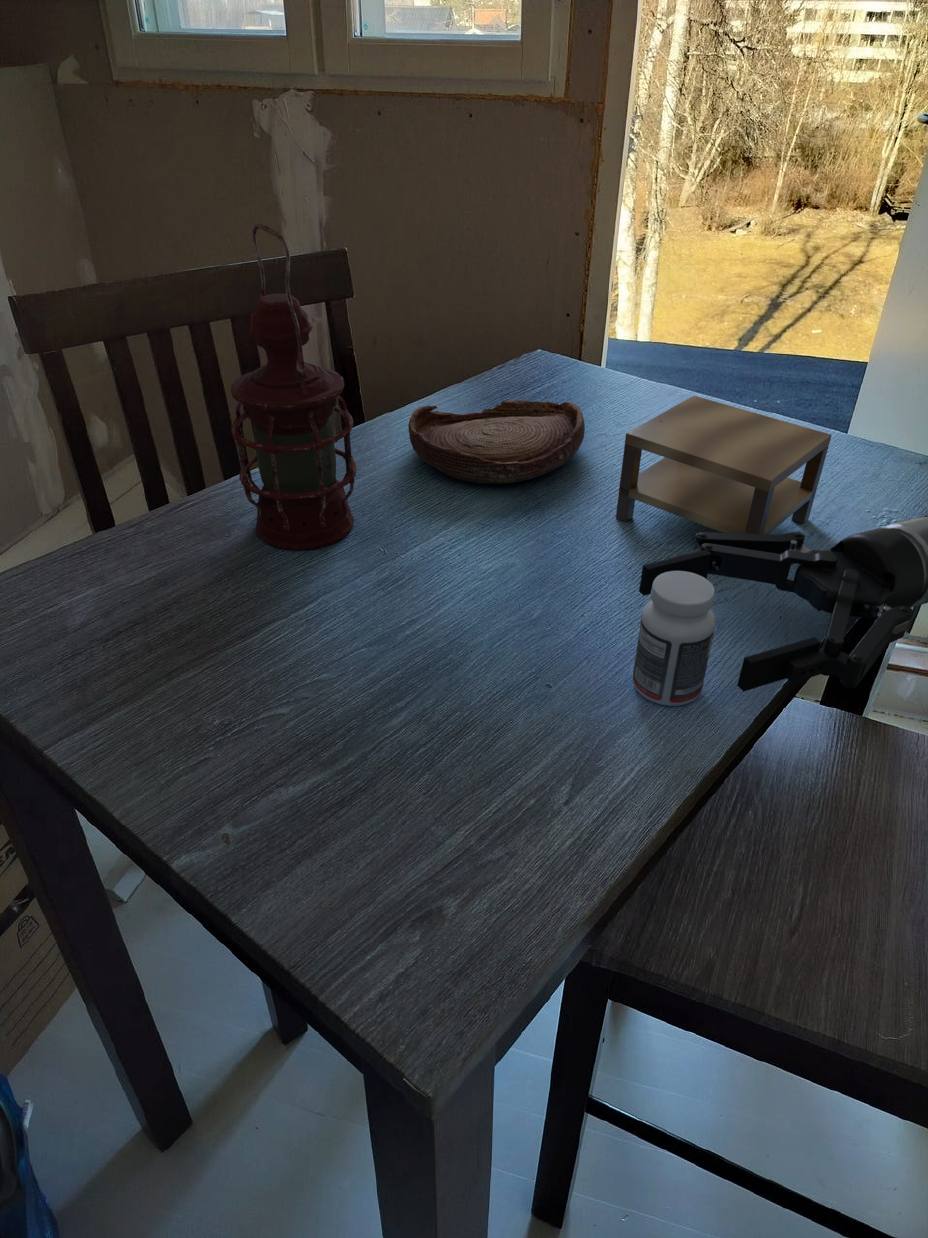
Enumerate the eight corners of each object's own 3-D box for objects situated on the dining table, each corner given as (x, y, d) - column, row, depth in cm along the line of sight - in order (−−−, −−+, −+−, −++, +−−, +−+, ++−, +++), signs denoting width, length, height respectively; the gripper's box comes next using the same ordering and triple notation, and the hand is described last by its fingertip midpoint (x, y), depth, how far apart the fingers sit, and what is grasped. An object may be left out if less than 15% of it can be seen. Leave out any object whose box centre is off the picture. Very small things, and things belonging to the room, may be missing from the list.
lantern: (381, 533, 91) (362, 231, 73) (275, 568, 85) (226, 249, 68) (330, 489, 99) (302, 207, 81) (230, 517, 93) (176, 222, 76)
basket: (526, 408, 118) (528, 373, 116) (620, 462, 105) (625, 425, 102) (382, 444, 109) (380, 407, 106) (465, 509, 95) (465, 469, 92)
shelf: (808, 519, 94) (832, 434, 88) (749, 570, 85) (771, 480, 79) (680, 475, 102) (693, 395, 96) (615, 518, 94) (625, 432, 88)
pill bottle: (699, 668, 73) (720, 570, 67) (703, 712, 68) (726, 612, 62) (631, 661, 73) (646, 563, 68) (630, 704, 69) (646, 604, 63)
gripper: (998, 687, 67) (783, 762, 61) (787, 538, 86) (605, 583, 79) (1036, 610, 63) (809, 682, 56) (805, 470, 82) (613, 512, 75)
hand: (689, 624), depth 68 cm, fingers open, 13 cm apart
